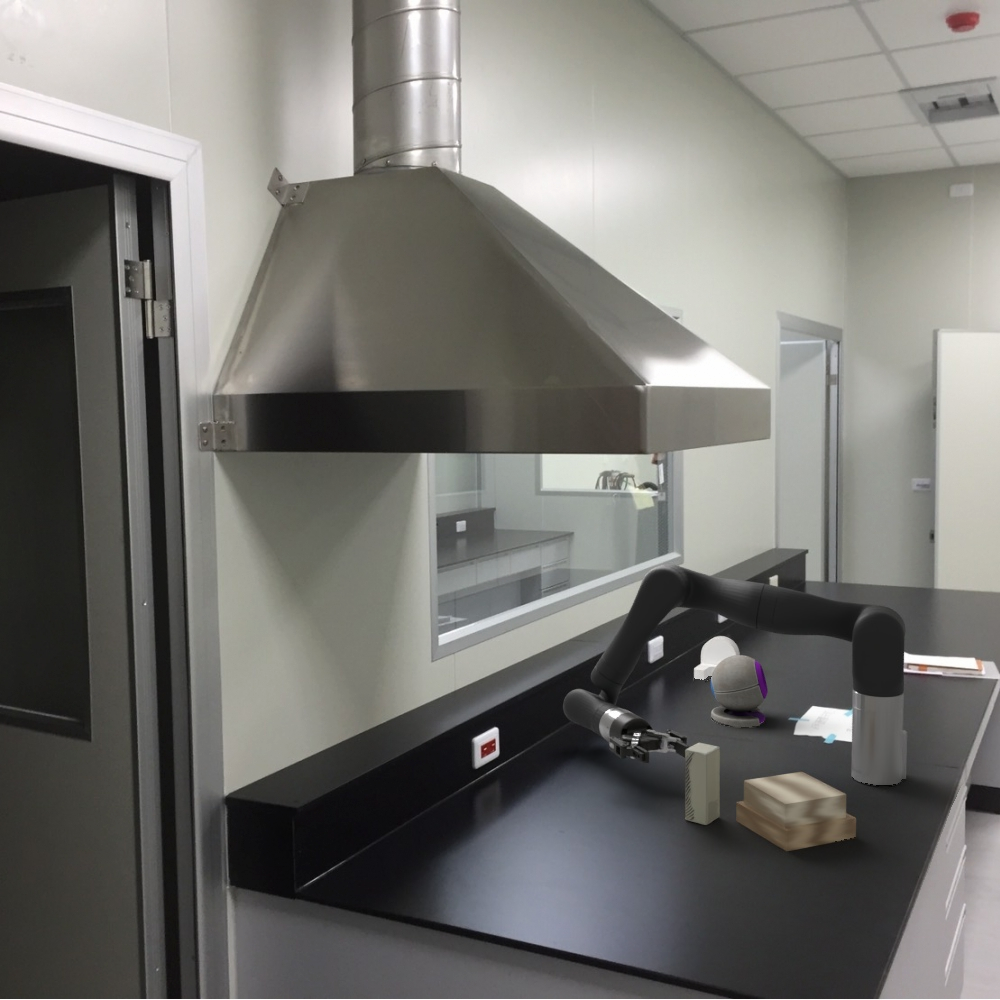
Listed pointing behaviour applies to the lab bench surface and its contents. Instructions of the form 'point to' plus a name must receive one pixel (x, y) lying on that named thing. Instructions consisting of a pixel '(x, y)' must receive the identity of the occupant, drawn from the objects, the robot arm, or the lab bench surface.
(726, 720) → the shader ball
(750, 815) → the bottom slab
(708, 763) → the box
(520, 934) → the lab bench surface
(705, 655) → the tape dispenser
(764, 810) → the top slab
